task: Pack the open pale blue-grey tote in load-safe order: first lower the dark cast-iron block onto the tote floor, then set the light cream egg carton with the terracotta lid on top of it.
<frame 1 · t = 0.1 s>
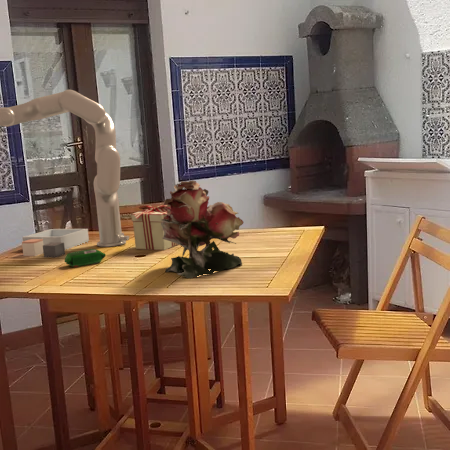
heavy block: (54, 256, 261), on the table
fragile carton: (34, 254, 267), on the table
rose bouquet: (198, 267, 221), on the table
mortar and pestle: (198, 234, 289), on the table
snack package: (86, 264, 240), on the table
gift box: (159, 247, 263), on the table
tote: (57, 246, 283), on the table
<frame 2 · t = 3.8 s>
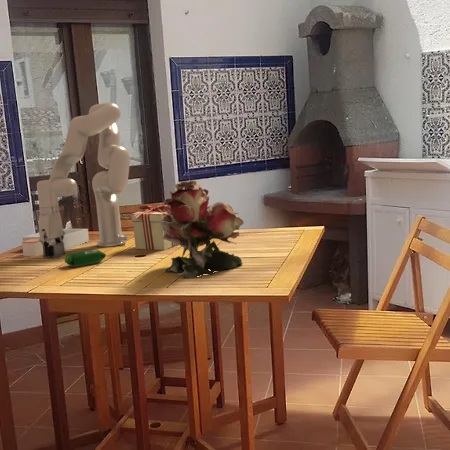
hand: (54, 254, 260), 1 cm above the table, fingers closed on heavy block, 6 cm apart
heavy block: (54, 255, 261), on the table, touching gripper
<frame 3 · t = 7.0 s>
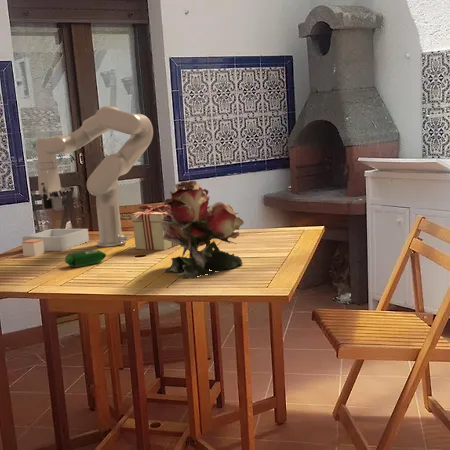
hand: (52, 207, 280), 17 cm above the table, fingers closed on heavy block, 6 cm apart
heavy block: (52, 208, 280), point 17 cm above the table, touching gripper
when the fingers open (3 cm above the table, at t = 10.3 s): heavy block drops 1 cm, resting on tote.
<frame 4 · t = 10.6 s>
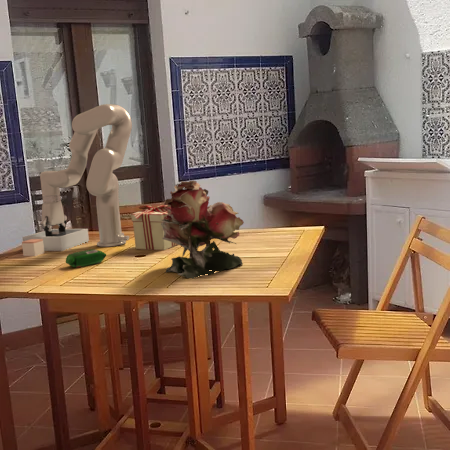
hand: (56, 237, 282), 4 cm above the table, fingers open, 9 cm apart
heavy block: (57, 243, 283), point 1 cm above the table, touching tote
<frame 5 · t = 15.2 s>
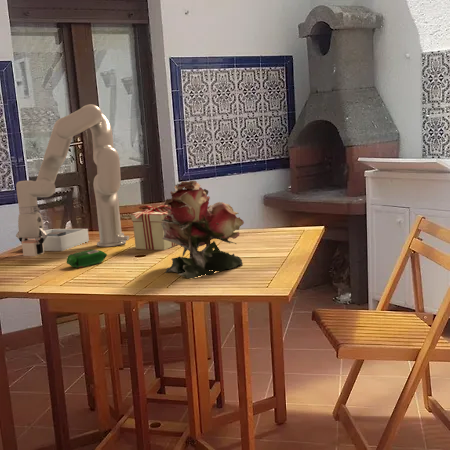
hand: (33, 252, 267), 1 cm above the table, fingers closed on fragile carton, 6 cm apart
fragile carton: (33, 254, 267), on the table, touching gripper
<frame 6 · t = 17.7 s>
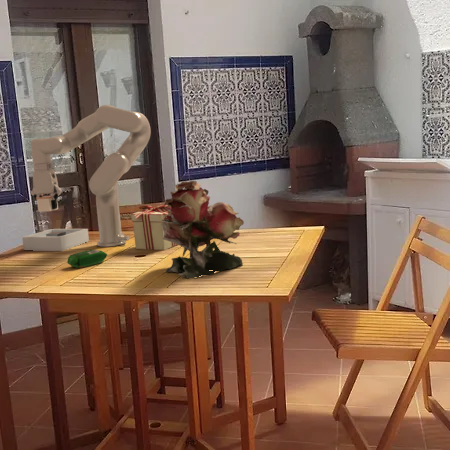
hand: (48, 208, 277), 17 cm above the table, fingers closed on fragile carton, 6 cm apart
fragile carton: (48, 210, 277), point 17 cm above the table, touching gripper
when the fingers open (8 cm above the table, at t = 20.3 s): fragile carton drops 1 cm, resting on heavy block.
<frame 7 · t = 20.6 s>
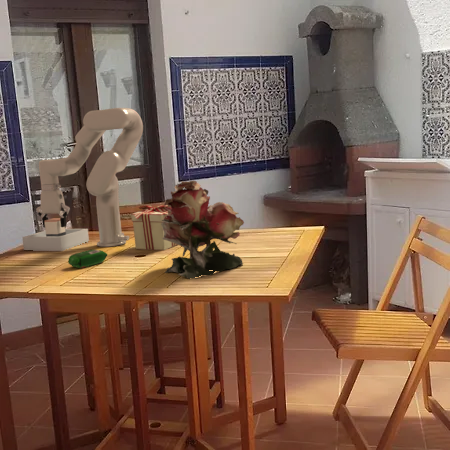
hand: (54, 226, 281), 9 cm above the table, fingers open, 9 cm apart
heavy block: (57, 243, 283), point 1 cm above the table, touching fragile carton, tote
fragile carton: (55, 232, 282), point 6 cm above the table, touching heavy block
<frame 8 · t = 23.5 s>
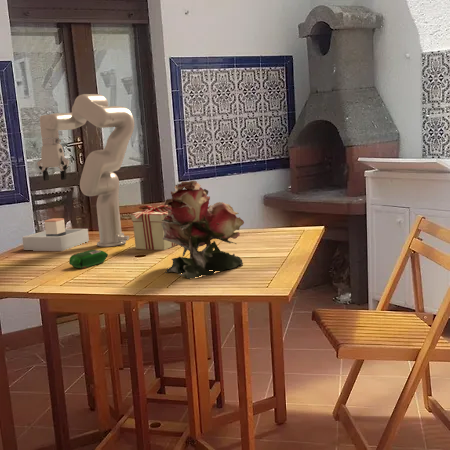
hand: (55, 179, 293), 28 cm above the table, fingers open, 9 cm apart
at the end: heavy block inside the target area on the tote (0.1 cm from its centre), point 1.0 cm above the tote's base; fragile carton 0.0 cm off-centre on the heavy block, point 5.0 cm above the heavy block's base; fragile carton tilted 0° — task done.
